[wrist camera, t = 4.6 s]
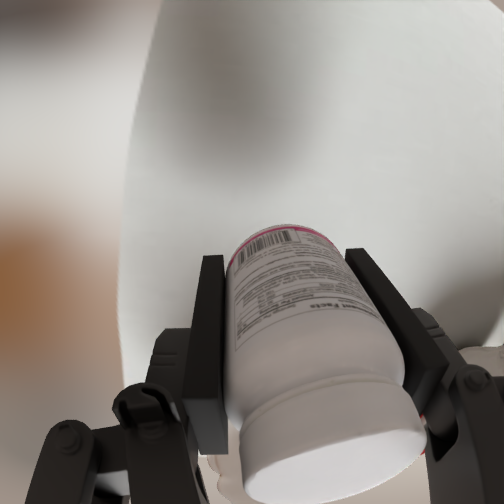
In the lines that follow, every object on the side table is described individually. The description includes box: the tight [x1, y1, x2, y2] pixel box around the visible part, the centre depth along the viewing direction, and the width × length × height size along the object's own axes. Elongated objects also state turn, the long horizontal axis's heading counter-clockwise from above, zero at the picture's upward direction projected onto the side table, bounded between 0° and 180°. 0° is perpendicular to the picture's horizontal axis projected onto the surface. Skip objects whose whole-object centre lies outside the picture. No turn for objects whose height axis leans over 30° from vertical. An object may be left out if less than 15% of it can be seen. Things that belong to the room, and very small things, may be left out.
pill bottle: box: [223, 224, 427, 504], centre depth 9 cm, size 5×5×8 cm
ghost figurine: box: [207, 418, 266, 504], centre depth 18 cm, size 9×10×10 cm
